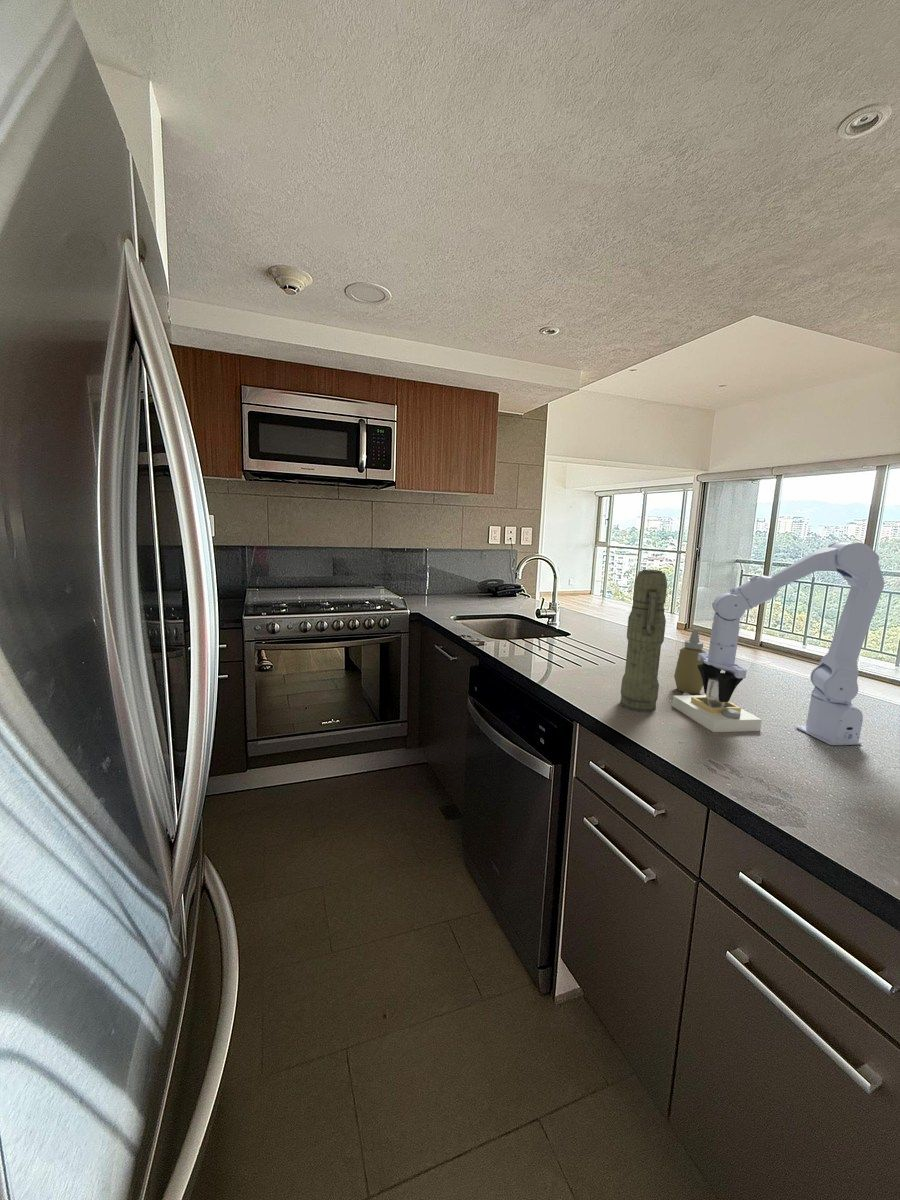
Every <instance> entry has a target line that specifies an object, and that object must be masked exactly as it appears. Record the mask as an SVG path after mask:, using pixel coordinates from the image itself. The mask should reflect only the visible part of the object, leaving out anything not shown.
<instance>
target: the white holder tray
mask: <svg viewBox="0 0 900 1200" xmlns="http://www.w3.org/2000/svg"><path fill="white" fill-rule="evenodd" d="M705 700H706V694H700V695H698V694H690V693H686V692H683V693H682V695H672V704H671V706H672V707H673V708H674V709H676V710H678V711H680V712H681V713H682V714H684V715H685V716H688V717H689V718H690V719H691V720H693V721H695V722H696V723H698V724H699V725H701V726H702V727H704V728H706V729H707V730H710V732H712V733H727V732H728V733H731V732H734V733H735V732H760V731H761V728H762V721H763V720H762V719H761V718H760V717H758V716H756V715H755V714H752V713H751V712H748V711H747V710H745V709H743V708H742V707H740V706H738V705H736V704H735V703H733V702H731V701H729V702H728V705H727V707H711V706H709V705H707V704H705Z"/></svg>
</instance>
